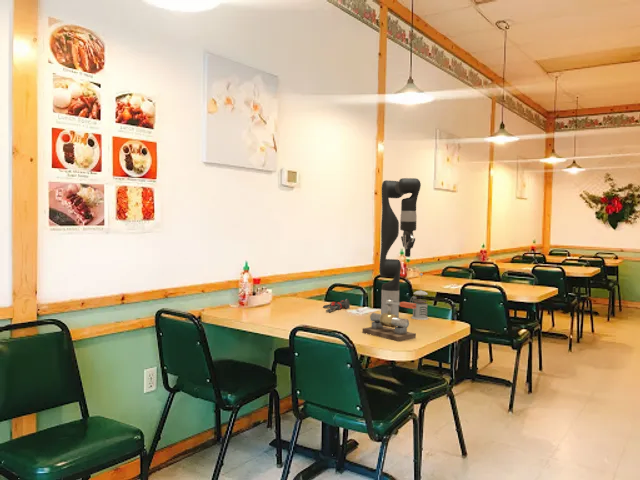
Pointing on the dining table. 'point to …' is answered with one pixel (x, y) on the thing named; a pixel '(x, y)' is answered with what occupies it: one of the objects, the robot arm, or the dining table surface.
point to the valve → (337, 305)
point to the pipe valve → (389, 322)
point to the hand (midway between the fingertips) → (407, 256)
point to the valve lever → (401, 304)
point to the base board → (389, 333)
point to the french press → (418, 312)
